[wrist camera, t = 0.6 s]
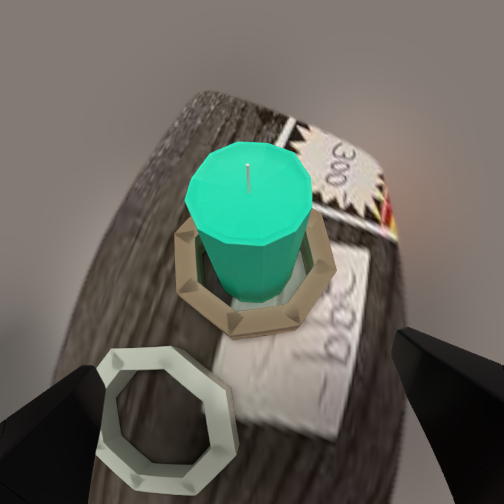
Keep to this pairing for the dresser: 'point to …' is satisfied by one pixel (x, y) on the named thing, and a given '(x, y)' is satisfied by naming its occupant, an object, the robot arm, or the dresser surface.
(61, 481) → the robot arm
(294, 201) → the candle
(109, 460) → the socket
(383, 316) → the dresser surface
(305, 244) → the socket
